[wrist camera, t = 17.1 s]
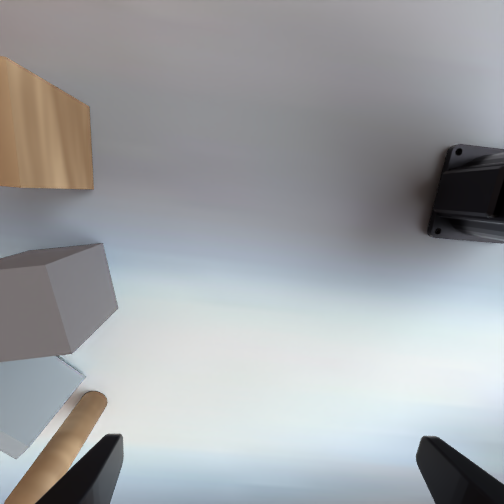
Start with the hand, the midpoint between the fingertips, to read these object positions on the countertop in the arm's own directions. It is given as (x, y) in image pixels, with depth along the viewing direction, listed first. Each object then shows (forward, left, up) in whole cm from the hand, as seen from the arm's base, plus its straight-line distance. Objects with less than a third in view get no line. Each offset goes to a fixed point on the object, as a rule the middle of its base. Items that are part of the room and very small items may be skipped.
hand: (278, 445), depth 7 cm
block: (+13, 0, -12) cm, 18 cm away
